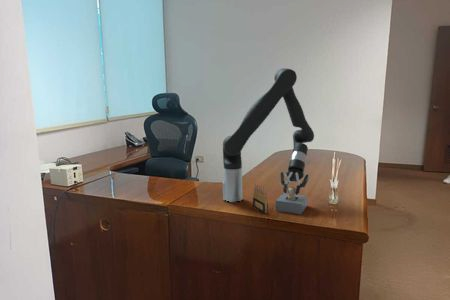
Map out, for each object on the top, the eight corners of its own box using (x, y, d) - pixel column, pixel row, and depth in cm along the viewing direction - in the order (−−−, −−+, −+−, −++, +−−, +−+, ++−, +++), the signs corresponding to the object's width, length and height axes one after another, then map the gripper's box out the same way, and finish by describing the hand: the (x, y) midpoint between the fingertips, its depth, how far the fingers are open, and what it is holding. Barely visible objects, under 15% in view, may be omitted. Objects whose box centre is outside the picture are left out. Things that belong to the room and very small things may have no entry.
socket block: (275, 210, 161) (275, 200, 160) (283, 202, 172) (283, 193, 171) (301, 214, 156) (301, 203, 155) (307, 205, 166) (307, 195, 165)
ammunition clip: (268, 213, 158) (267, 188, 156) (264, 214, 157) (264, 189, 155) (256, 206, 167) (255, 182, 165) (252, 207, 167) (252, 183, 164)
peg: (287, 209, 163) (287, 188, 161) (289, 206, 166) (289, 186, 164) (294, 209, 161) (294, 189, 160) (296, 207, 165) (296, 187, 163)
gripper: (281, 157, 169) (274, 187, 161) (311, 159, 163) (304, 191, 154) (284, 165, 175) (277, 195, 166) (313, 167, 169) (307, 198, 160)
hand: (290, 193), depth 160 cm, fingers open, 4 cm apart
